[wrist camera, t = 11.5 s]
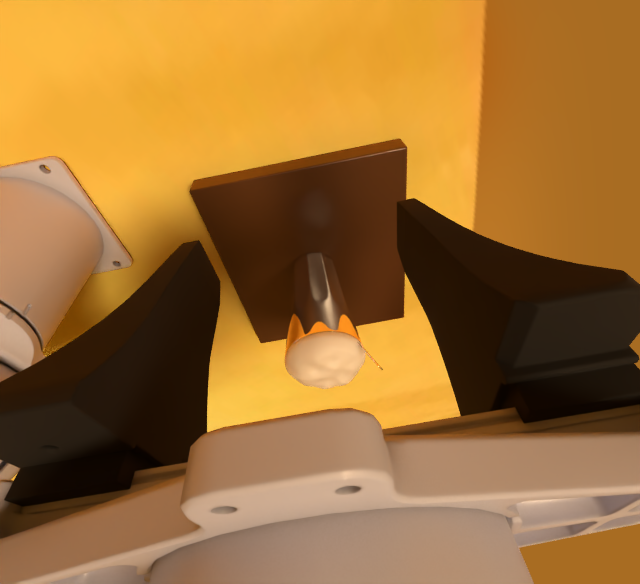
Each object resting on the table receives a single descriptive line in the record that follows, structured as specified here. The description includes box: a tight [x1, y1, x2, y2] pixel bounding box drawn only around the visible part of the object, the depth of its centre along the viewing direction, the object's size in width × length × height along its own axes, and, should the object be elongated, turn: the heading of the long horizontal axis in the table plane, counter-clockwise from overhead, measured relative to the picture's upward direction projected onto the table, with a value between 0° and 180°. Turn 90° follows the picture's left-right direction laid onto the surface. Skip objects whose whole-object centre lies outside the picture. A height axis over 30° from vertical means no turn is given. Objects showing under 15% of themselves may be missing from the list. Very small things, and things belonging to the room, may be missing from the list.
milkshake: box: [285, 253, 383, 389], centre depth 21 cm, size 4×5×10 cm
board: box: [190, 139, 407, 343], centre depth 25 cm, size 13×15×2 cm
